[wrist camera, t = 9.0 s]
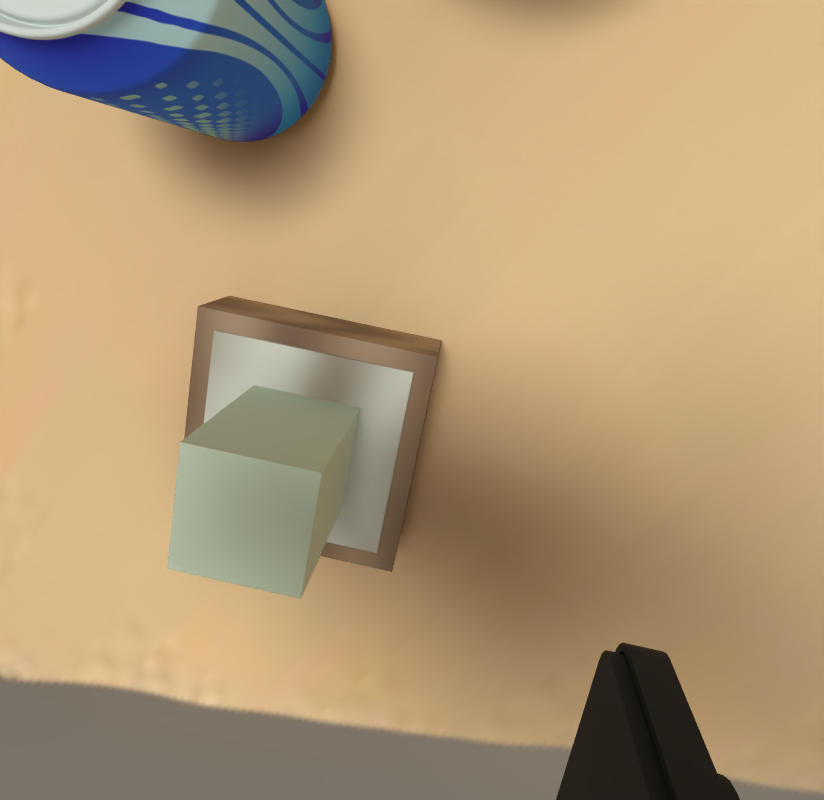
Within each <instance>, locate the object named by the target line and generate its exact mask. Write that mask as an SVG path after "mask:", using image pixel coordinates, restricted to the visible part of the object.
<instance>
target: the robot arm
mask: <svg viewBox="0 0 824 800" xmlns="http://www.w3.org/2000/svg"><path fill="white" fill-rule="evenodd" d="M556 800H740V799H739V797H738V794H737V792H736V790H735V789H734V787H733V785H732V784H731V782H730V780H728V779H727V778H726V777H725V776H723V775H721V774H717V772H716V769H715V767H714V765H713V762H712V760H711V757H710V755H709V753H708V750H707V748H706V745H705V743H704V740H703V738H702V736H701V733H700V731H699V728H698V726H697V724H696V721H695V719H694V716H693V714H692V711H691V709H690V707H689V704H688V702H687V699H686V697H685V694H684V692H683V690H682V687H681V685H680V682H679V680H678V678H677V675H676V673H675V670H674V668H673V665H672V663H671V661H670V658H669V657H668V655H667V653H665V652H662V651H658V650H653V649H649V648H644V647H640V646H636V645H631V644H627V643H621V644H620V645H619V646H618V647H617V649H616V651H615V652H611V651H607V650H606V651H604V652H603V653H602V655H601V657H600V660H599V663H598V666H597V669H596V673H595V676H594V679H593V682H592V685H591V689H590V692H589V695H588V698H587V702H586V705H585V708H584V711H583V715H582V718H581V721H580V724H579V727H578V731H577V734H576V737H575V740H574V744H573V747H572V750H571V753H570V757H569V760H568V763H567V766H566V770H565V773H564V776H563V779H562V782H561V786H560V789H559V792H558V795H557V799H556Z"/></svg>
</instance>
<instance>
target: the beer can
mask: <svg viewBox="0 0 824 800" xmlns="http://www.w3.org/2000/svg"><path fill="white" fill-rule="evenodd" d="M331 48H332V36H331V25H330V19H329V14H328V10H327V6H326V3H325V0H0V58H1V59H2V60H3V61H5V62H6V63H8V64H9V65H10V66H12V67H13V68H14V69H16V70H18V71H19V72H21V73H23V74H24V75H26V76H28V77H29V78H31V79H33V80H35V81H38V82H40V83H42V84H44V85H46V86H49V87H51V88H54V89H57V90H60V91H63V92H66V93H70V94H73V95H76V96H80V97H83V98H86V99H90V100H93V101H96V102H100V103H103V104H106V105H110V106H113V107H116V108H120V109H123V110H126V111H130V112H133V113H136V114H140V115H143V116H146V117H150V118H153V119H156V120H160V121H163V122H166V123H170V124H173V125H176V126H180V127H183V128H186V129H190V130H193V131H196V132H200V133H203V134H206V135H210V136H213V137H217V138H220V139H224V140H229V141H236V142H249V141H257V140H262V139H266V138H269V137H272V136H274V135H277V134H279V133H281V132H283V131H284V130H286V129H288V128H289V127H291V126H292V125H294V124H295V123H296V122H297V121H298V120H299V119H301V118H302V117H303V115H304V114H305V113H306V112H307V111H308V110H309V109H310V107H311V106H312V105H313V103H314V102H315V100H316V98H317V97H318V95H319V93H320V91H321V89H322V87H323V84H324V82H325V79H326V76H327V72H328V69H329V64H330V58H331Z"/></svg>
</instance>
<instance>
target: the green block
mask: <svg viewBox="0 0 824 800" xmlns="http://www.w3.org/2000/svg"><path fill="white" fill-rule="evenodd" d="M359 412H360V407H355V406H351V405H346V404H341V403H337V402H332V401H327V400H323V399H318V398H313V397H308V396H304V395H299V394H294V393H290V392H285V391H280V390H276V389H271V388H266V387H262V386H257V385H253V386H252V387H251V388H249V389H248V390H247V391H246V392H244V393H243V394H242V395H240V396H239V397H238V398H236V399H235V400H234V401H233V402H231V403H230V404H229V405H227V406H226V407H225V408H224V409H222V410H221V411H220V412H218V413H217V414H216V415H214V416H213V417H212V418H211V419H209V420H208V421H207V422H205V423H204V424H203V425H202V426H200V427H199V428H198V429H196V430H195V431H194V432H192V433H191V434H190V435H189V436H187V437H186V438H185V439H183V440H182V441H181V442H180V447H179V457H178V467H177V477H176V487H175V497H174V507H173V517H172V527H171V537H170V547H169V557H168V567H167V569H170V570H175V571H179V572H184V573H188V574H193V575H197V576H202V577H206V578H211V579H215V580H219V581H224V582H228V583H233V584H237V585H242V586H246V587H251V588H255V589H260V590H264V591H269V592H273V593H278V594H282V595H286V596H291V597H295V598H300V599H301V597H302V595H303V592H304V590H305V588H306V586H307V584H308V581H309V579H310V577H311V575H312V573H313V570H314V568H315V566H316V564H317V561H318V559H319V557H320V555H321V553H322V550H323V548H324V546H325V544H326V541H327V539H328V537H329V535H330V533H331V530H332V528H333V526H334V524H335V522H336V519H337V517H338V515H339V513H340V510H341V508H342V506H343V501H344V495H345V490H346V484H347V479H348V473H349V468H350V462H351V457H352V451H353V445H354V440H355V434H356V429H357V423H358V418H359Z"/></svg>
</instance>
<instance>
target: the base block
mask: <svg viewBox="0 0 824 800" xmlns="http://www.w3.org/2000/svg"><path fill="white" fill-rule="evenodd" d="M440 345H441V340H437V339H432V338H427V337H422V336H418V335H413V334H408V333H403V332H399V331H394V330H389V329H384V328H380V327H375V326H370V325H365V324H361V323H356V322H351V321H346V320H342V319H337V318H332V317H327V316H323V315H318V314H313V313H308V312H304V311H299V310H294V309H289V308H284V307H280V306H275V305H270V304H265V303H261V302H256V301H251V300H246V299H242V298H237V297H232V296H228V297H225V298H222V299H219V300H216V301H213V302H210V303H206V304H203V305H200V306H198V311H197V321H196V331H195V341H194V350H193V360H192V370H191V379H190V389H189V399H188V408H187V418H186V428H185V437H184V439H185V438H186V437H187V436H189V435H190V434H191V433H192V432H194V431H195V430H196V429H198V428H199V427H200V426H202V425H203V424H204V423H205V422H207V421H208V420H209V419H211V418H212V417H213V416H214V415H216V414H217V413H218V412H220V411H221V410H222V409H224V408H225V407H226V406H227V405H229V404H230V403H231V402H233V401H234V400H235V399H236V398H238V397H239V396H240V395H242V394H243V393H244V392H246V391H247V390H248V389H249V388H251V387H252V386H253V385H257V386H262V387H266V388H271V389H276V390H280V391H285V392H290V393H294V394H299V395H304V396H308V397H313V398H318V399H323V400H327V401H332V402H337V403H341V404H346V405H351V406H355V407H360V412H359V418H358V423H357V429H356V434H355V440H354V445H353V451H352V457H351V462H350V468H349V473H348V479H347V484H346V490H345V495H344V501H343V506H342V508H341V510H340V513H339V515H338V517H337V519H336V522H335V524H334V526H333V528H332V530H331V533H330V535H329V537H328V539H327V541H326V544H325V546H324V548H323V550H322V553H321V555H320V556H324V557H328V558H333V559H337V560H342V561H346V562H351V563H355V564H360V565H364V566H369V567H373V568H378V569H382V570H387V571H391V572H392V569H393V565H394V560H395V556H396V552H397V547H398V543H399V539H400V534H401V530H402V525H403V520H404V515H405V511H406V506H407V501H408V496H409V492H410V487H411V482H412V478H413V473H414V468H415V463H416V459H417V454H418V449H419V444H420V440H421V435H422V430H423V425H424V421H425V416H426V411H427V407H428V402H429V397H430V392H431V388H432V383H433V378H434V373H435V369H436V364H437V359H438V355H439V350H440Z"/></svg>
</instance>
